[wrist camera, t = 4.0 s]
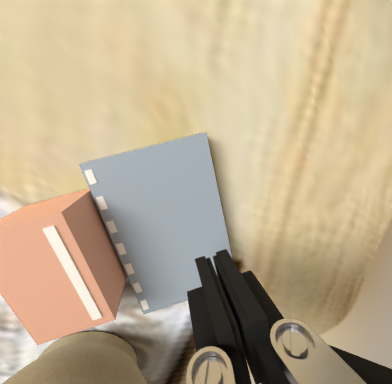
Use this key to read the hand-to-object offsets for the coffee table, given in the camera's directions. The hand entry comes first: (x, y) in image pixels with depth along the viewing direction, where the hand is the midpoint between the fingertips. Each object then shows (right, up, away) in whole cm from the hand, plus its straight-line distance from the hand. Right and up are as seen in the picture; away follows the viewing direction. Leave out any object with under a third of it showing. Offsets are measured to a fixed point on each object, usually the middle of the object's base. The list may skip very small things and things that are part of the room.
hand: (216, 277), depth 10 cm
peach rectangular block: (-10, 0, +6) cm, 12 cm away
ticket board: (-3, +1, +7) cm, 8 cm away
